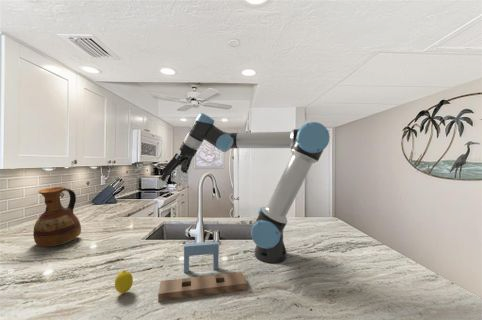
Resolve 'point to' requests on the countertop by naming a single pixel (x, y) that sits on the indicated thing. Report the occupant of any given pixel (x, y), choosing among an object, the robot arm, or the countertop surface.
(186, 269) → the clip
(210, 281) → the rail
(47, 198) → the ceramic pitcher
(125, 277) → the lemon
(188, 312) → the countertop surface
